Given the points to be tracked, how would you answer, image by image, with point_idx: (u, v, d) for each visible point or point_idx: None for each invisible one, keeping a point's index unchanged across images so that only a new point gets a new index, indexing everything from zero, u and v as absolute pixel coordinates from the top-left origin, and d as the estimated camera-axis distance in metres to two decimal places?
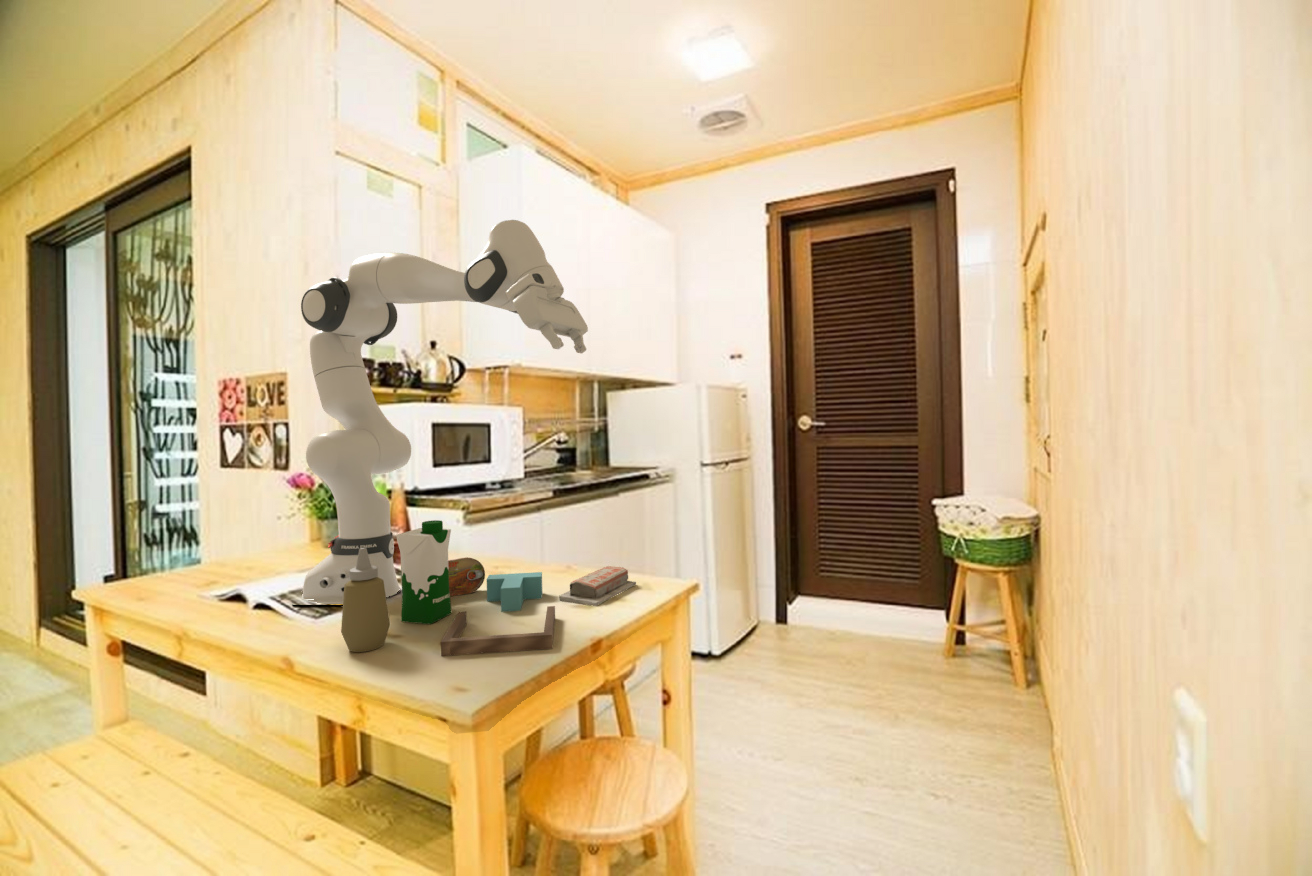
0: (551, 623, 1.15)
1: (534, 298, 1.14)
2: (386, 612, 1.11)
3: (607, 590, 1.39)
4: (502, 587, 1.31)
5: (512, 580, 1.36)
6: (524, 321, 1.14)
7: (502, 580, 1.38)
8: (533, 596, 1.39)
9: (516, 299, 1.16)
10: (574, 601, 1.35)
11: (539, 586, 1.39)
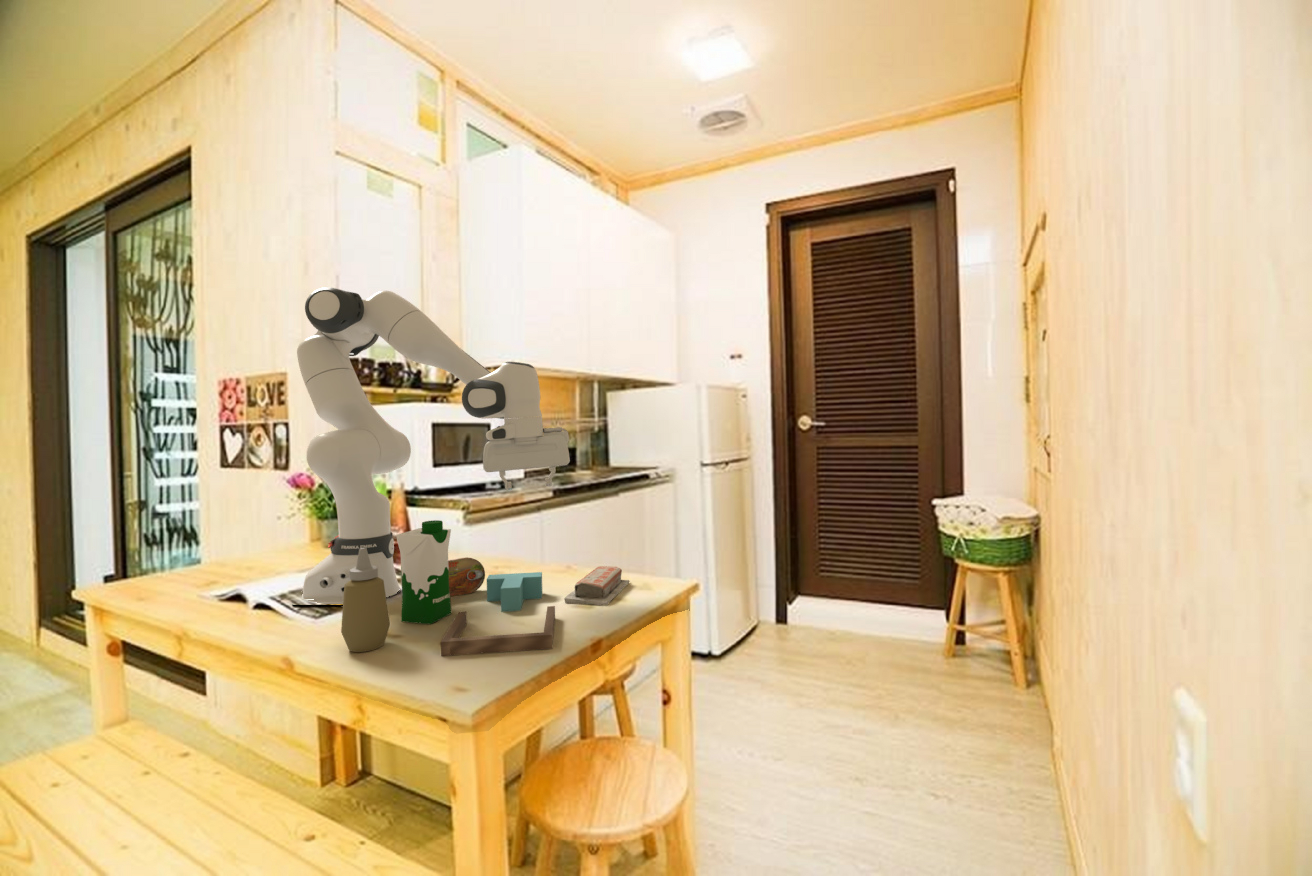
0: (551, 623, 1.15)
1: (485, 454, 1.41)
2: (386, 612, 1.11)
3: (610, 589, 1.39)
4: (502, 587, 1.31)
5: (512, 580, 1.36)
6: None
7: (502, 580, 1.38)
8: (533, 596, 1.39)
9: None
10: (581, 602, 1.34)
11: (539, 586, 1.39)
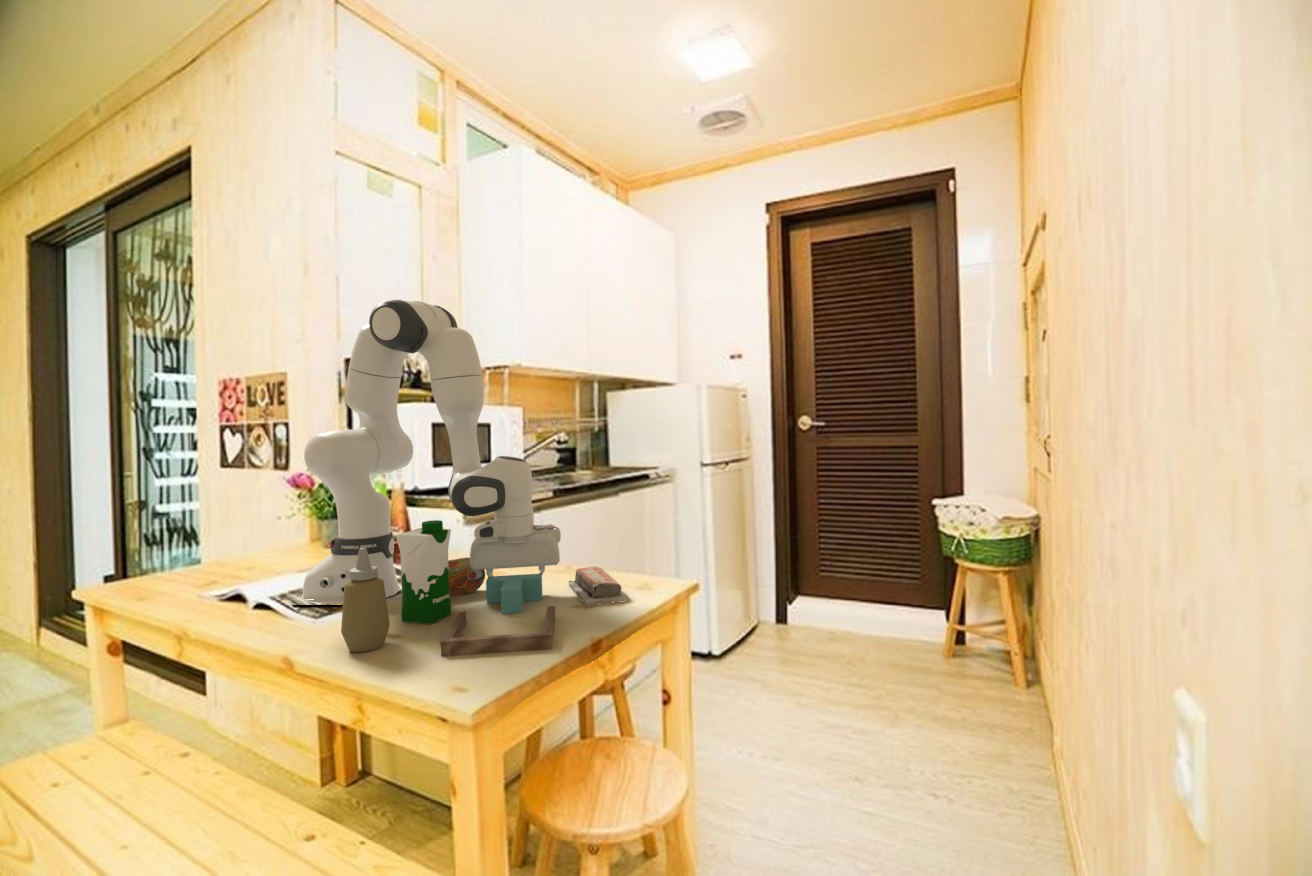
0: (551, 623, 1.15)
1: (472, 552, 1.38)
2: (386, 612, 1.11)
3: None
4: (502, 589, 1.29)
5: (512, 582, 1.34)
6: None
7: (502, 582, 1.36)
8: (533, 598, 1.37)
9: None
10: (604, 602, 1.34)
11: (539, 587, 1.37)
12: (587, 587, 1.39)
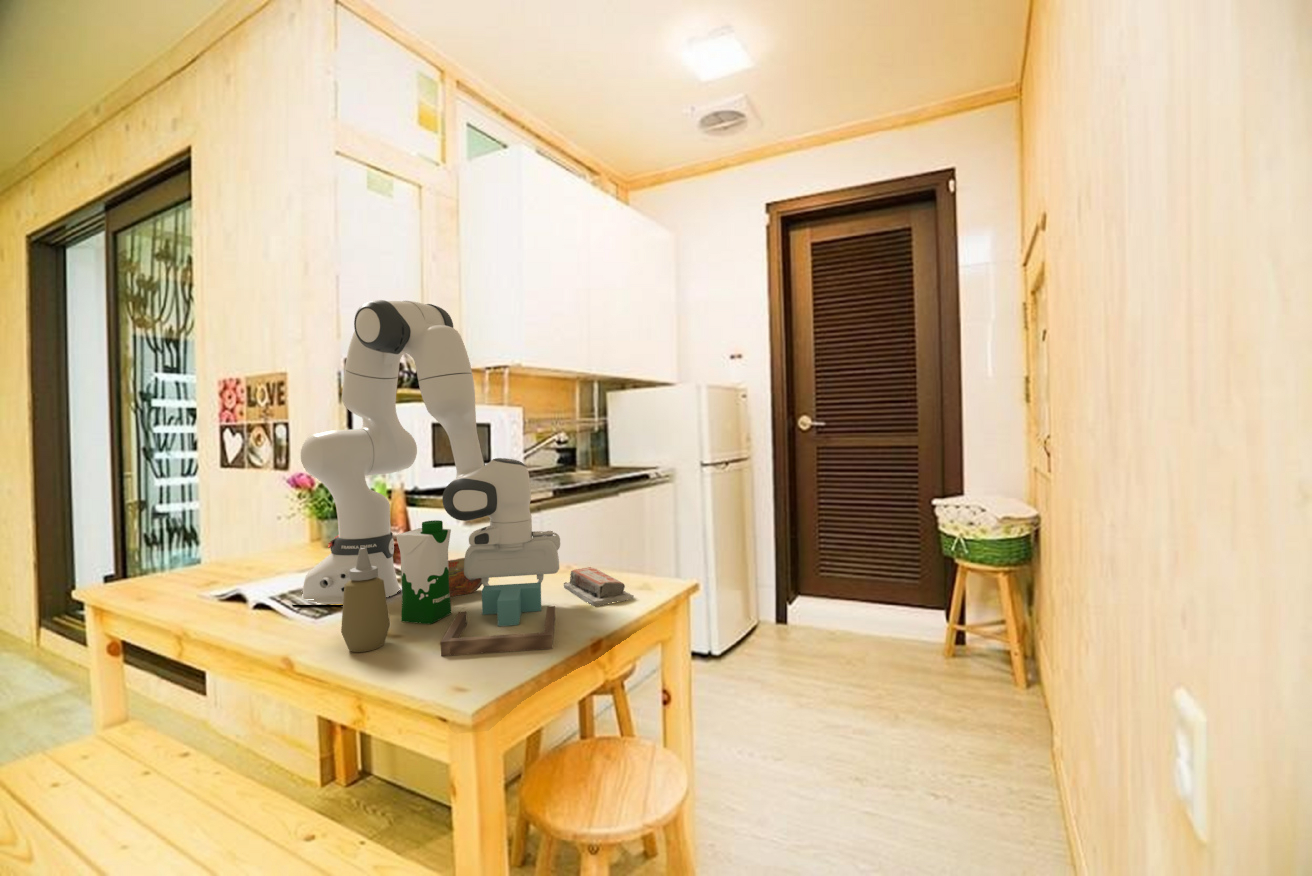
0: (551, 623, 1.15)
1: (466, 560, 1.30)
2: (386, 612, 1.11)
3: None
4: (499, 600, 1.21)
5: (509, 592, 1.27)
6: None
7: (498, 592, 1.29)
8: (532, 608, 1.30)
9: None
10: (611, 601, 1.34)
11: (538, 597, 1.30)
12: (589, 587, 1.39)
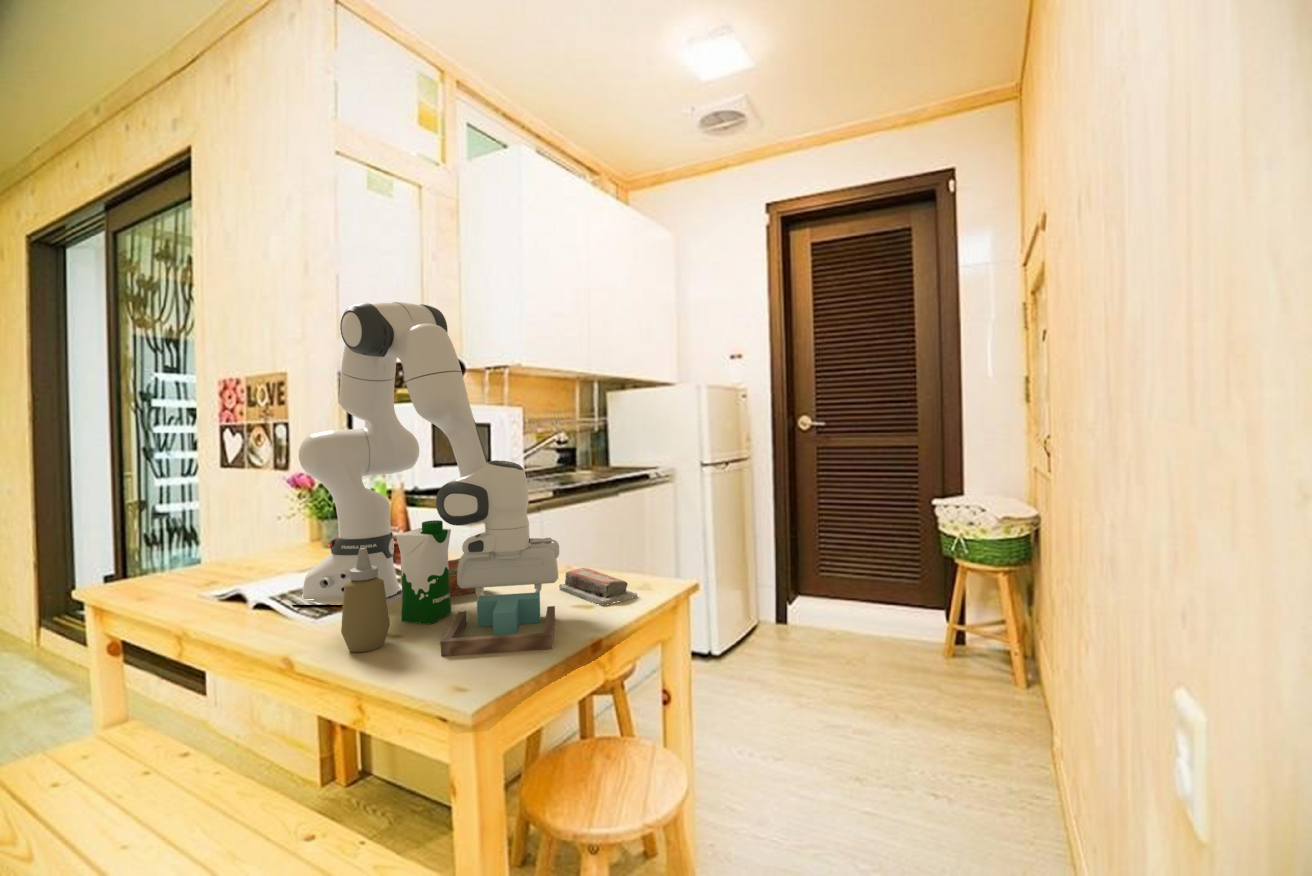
0: (551, 623, 1.15)
1: (459, 569, 1.23)
2: (386, 612, 1.11)
3: None
4: (495, 612, 1.14)
5: (506, 603, 1.19)
6: None
7: (495, 602, 1.21)
8: (530, 620, 1.22)
9: None
10: (617, 600, 1.35)
11: (537, 608, 1.22)
12: (592, 588, 1.38)
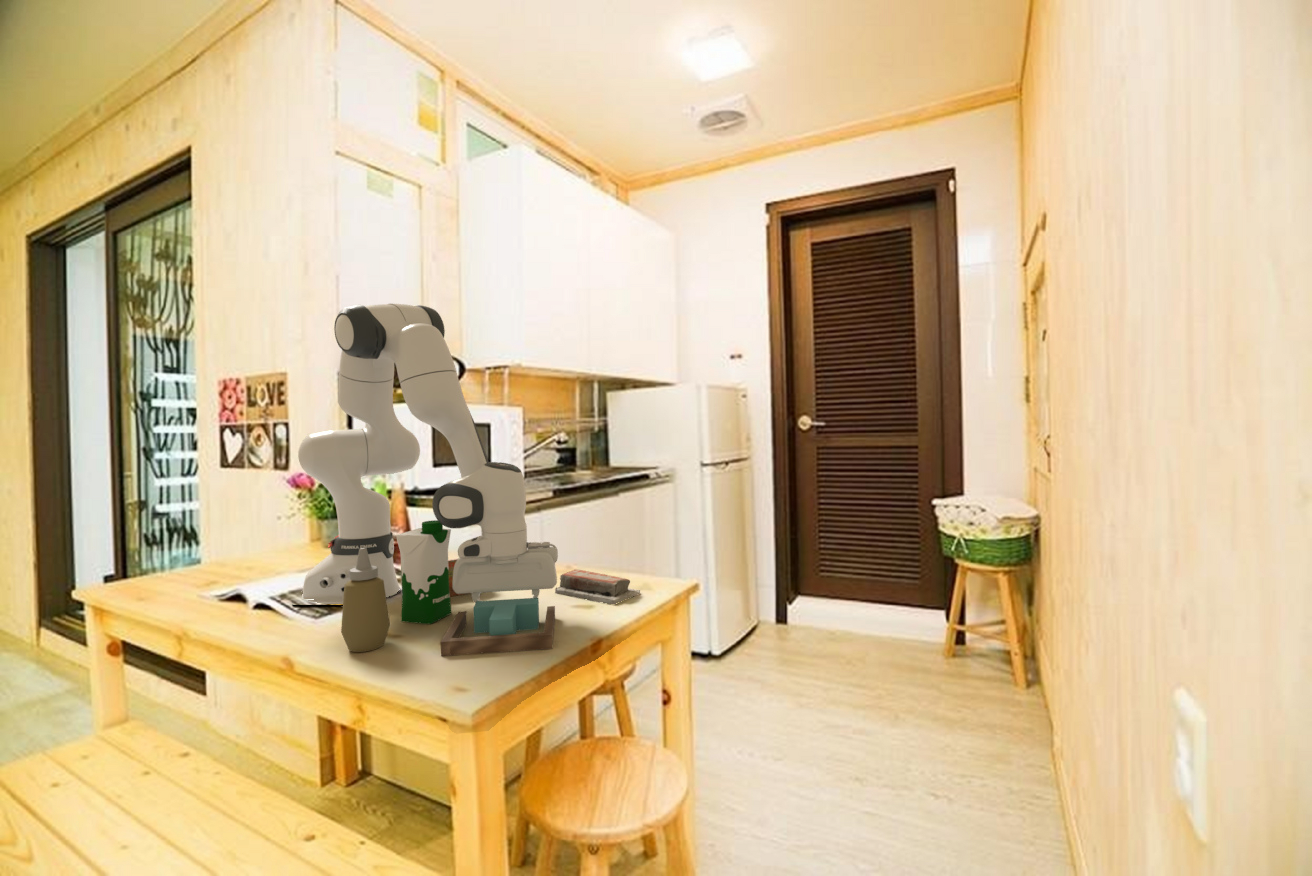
0: (551, 623, 1.15)
1: (455, 573, 1.19)
2: (386, 612, 1.11)
3: None
4: (491, 618, 1.11)
5: (503, 609, 1.16)
6: None
7: (492, 608, 1.18)
8: (528, 627, 1.19)
9: None
10: (625, 598, 1.36)
11: (535, 614, 1.19)
12: (596, 588, 1.38)
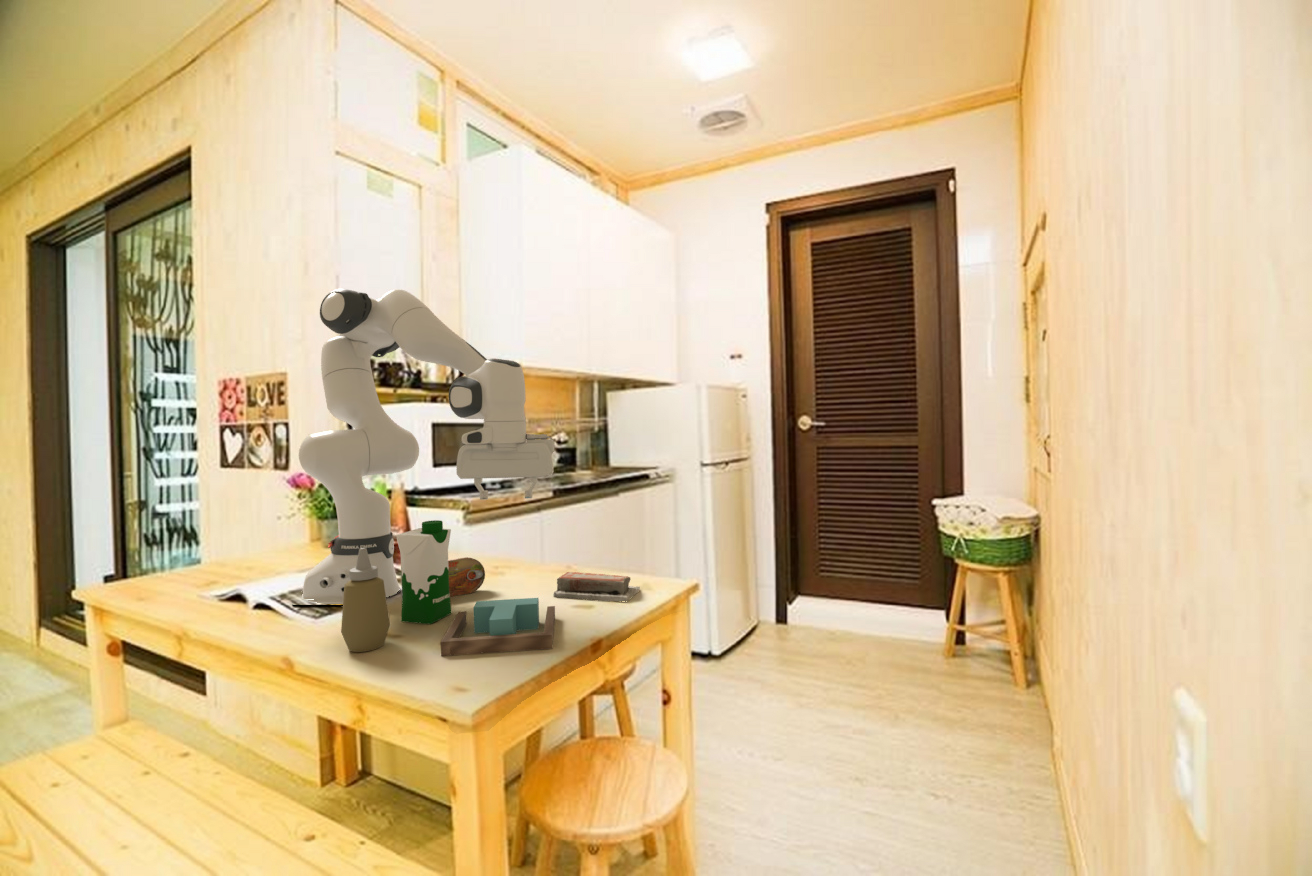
0: (551, 623, 1.15)
1: (459, 459, 1.29)
2: (386, 612, 1.11)
3: None
4: (491, 618, 1.11)
5: (503, 609, 1.16)
6: None
7: (492, 608, 1.18)
8: (528, 627, 1.19)
9: None
10: (632, 595, 1.39)
11: (535, 614, 1.19)
12: (602, 588, 1.38)
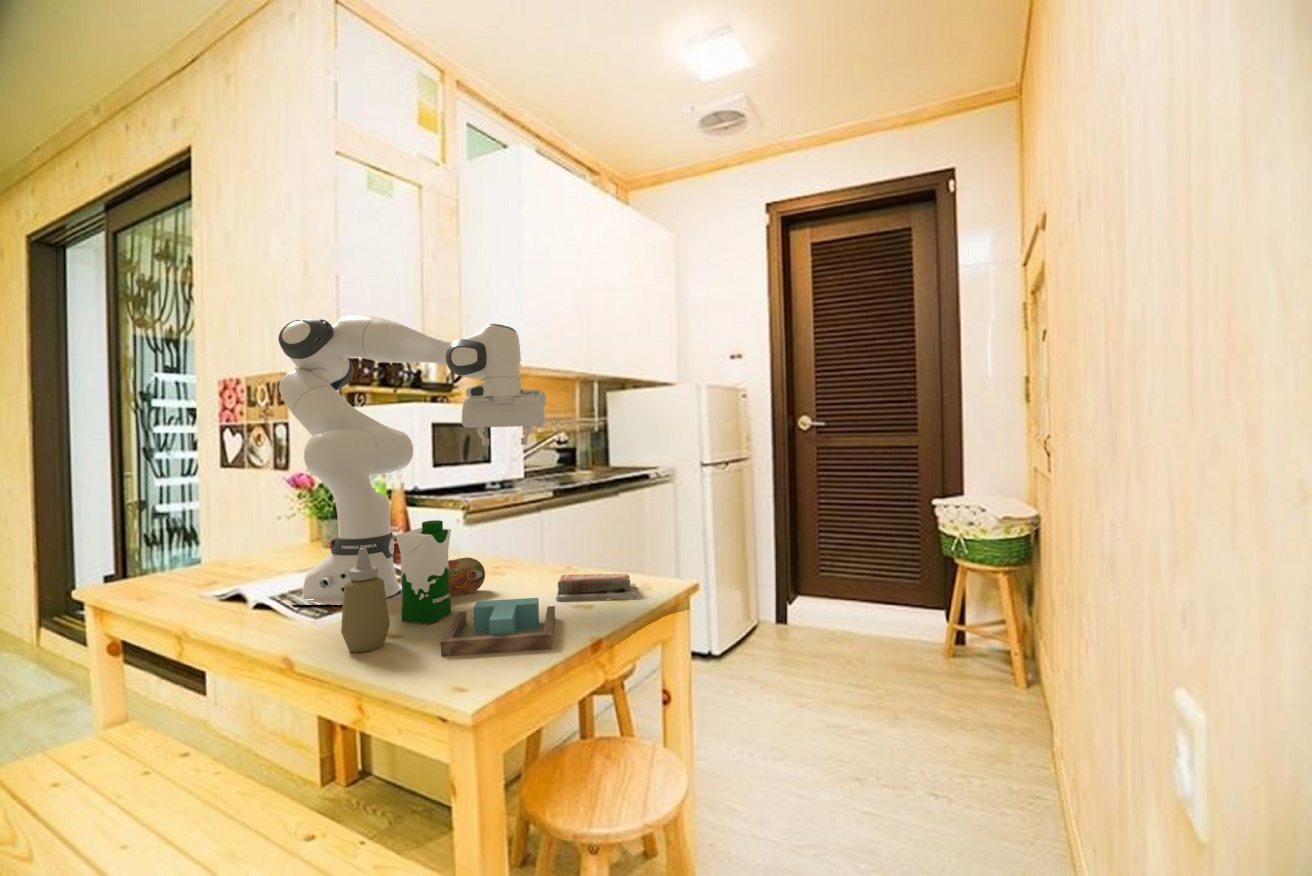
0: (551, 623, 1.15)
1: (463, 410, 1.50)
2: (386, 612, 1.11)
3: None
4: (491, 618, 1.11)
5: (503, 609, 1.16)
6: None
7: (492, 608, 1.18)
8: (528, 627, 1.19)
9: None
10: None
11: (535, 614, 1.19)
12: (607, 587, 1.39)
